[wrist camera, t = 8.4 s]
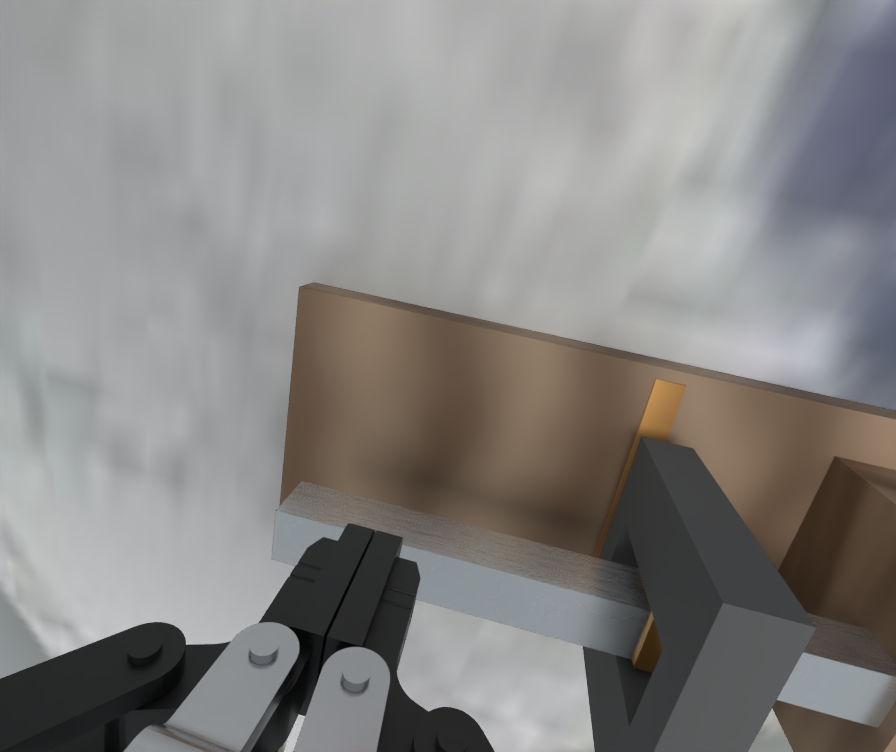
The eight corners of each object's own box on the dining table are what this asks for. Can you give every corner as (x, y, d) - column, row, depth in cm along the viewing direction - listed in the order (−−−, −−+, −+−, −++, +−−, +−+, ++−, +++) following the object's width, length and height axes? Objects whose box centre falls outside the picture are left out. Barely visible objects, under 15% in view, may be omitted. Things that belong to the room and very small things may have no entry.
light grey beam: (298, 526, 19) (268, 565, 17) (303, 475, 19) (273, 509, 17) (836, 672, 18) (879, 736, 15) (866, 621, 17) (915, 681, 15)
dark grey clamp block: (579, 613, 23) (606, 853, 14) (641, 435, 20) (722, 603, 11) (623, 625, 22) (678, 875, 14) (693, 448, 19) (816, 627, 11)
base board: (288, 533, 28) (180, 674, 19) (313, 282, 23) (185, 320, 15) (775, 666, 25) (899, 894, 17) (911, 414, 21) (1175, 553, 12)
